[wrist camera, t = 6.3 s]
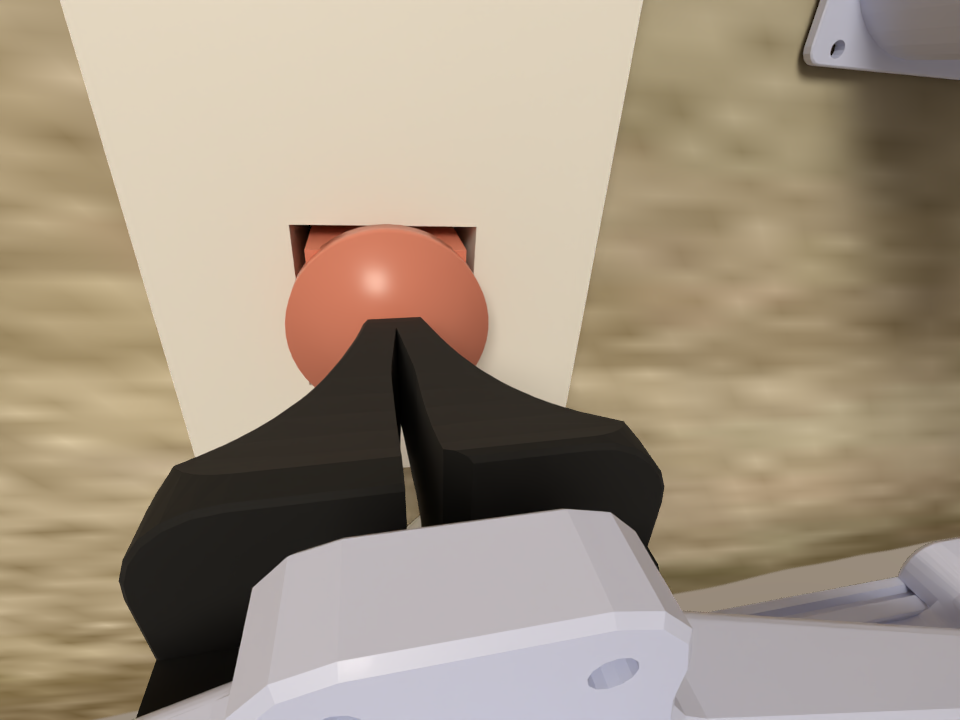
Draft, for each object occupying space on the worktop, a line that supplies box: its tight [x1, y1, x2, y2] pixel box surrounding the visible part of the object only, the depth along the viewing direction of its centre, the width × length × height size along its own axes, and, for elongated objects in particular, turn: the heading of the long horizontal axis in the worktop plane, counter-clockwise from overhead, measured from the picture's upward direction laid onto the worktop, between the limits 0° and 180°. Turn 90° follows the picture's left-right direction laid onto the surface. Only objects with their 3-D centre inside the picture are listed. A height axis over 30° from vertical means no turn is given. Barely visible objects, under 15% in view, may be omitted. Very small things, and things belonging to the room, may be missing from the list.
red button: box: [285, 224, 488, 387], centre depth 15 cm, size 5×5×5 cm
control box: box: [60, 0, 643, 468], centre depth 13 cm, size 12×24×4 cm, turn 176°
